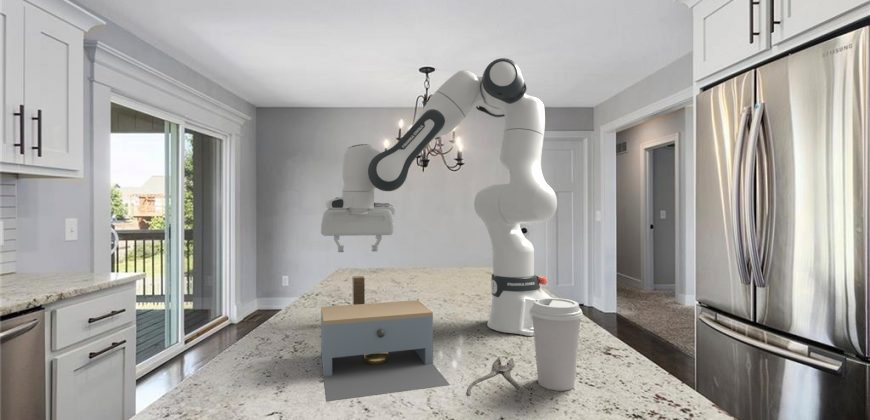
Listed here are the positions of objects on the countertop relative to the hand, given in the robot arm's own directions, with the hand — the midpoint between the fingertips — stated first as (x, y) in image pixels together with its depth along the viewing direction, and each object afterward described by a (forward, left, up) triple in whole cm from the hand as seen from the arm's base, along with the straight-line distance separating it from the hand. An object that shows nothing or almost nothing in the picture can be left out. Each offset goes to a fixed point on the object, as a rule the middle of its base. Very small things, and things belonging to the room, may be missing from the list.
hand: (357, 251), depth 120 cm
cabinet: (0, +30, -20) cm, 36 cm away
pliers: (-20, +46, -21) cm, 54 cm away
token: (0, +31, -20) cm, 37 cm away
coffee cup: (-30, +52, -20) cm, 64 cm away
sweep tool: (0, +10, -20) cm, 22 cm away
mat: (0, +35, -20) cm, 40 cm away
